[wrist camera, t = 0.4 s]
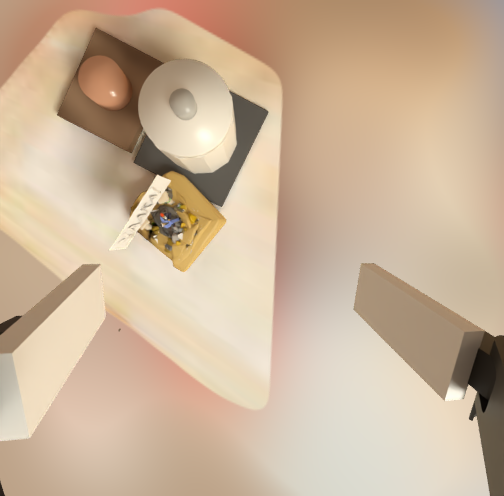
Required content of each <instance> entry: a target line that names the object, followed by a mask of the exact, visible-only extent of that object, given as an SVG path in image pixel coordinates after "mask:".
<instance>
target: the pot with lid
mask: <svg viewBox="0 0 504 496" xmlns="http://www.w3.org/2000/svg"><path fill="white" fill-rule="evenodd" d="M138 112H139V118H140V121H141V124H142V127H143V129H144V131H145V132H146V134H147V135H148V137H149V138H150V139H151V140H152V141H153V143H154V144H155V146H156V147H157V148H158V149H159V150H160V151H161V152H162V153H164V154H165V155H166V156H167V157H168V158H169V159H171V160H172V161H173V162H174V163H175V164H176V165H178V166H180V167H182V168H184V169H186V170H188V171H190V172H192V173H194V174H196V173H213V172H214V171H216V170H217V169H219V168H220V167H222V166H223V165H225V164H226V163H228V162H229V160H230V158H231V156H232V154H233V152H234V150H235V147H236V145H237V140H236V124H235V117H234V109H233V101H232V96H231V94H230V92H229V89H228V87H227V85H226V83H225V82H224V80H223V79H222V77H221V76H220V75H219V74H218V73H217V72H216V71H215V70H214V69H212V68H211V67H210V66H208V65H206V64H204V63H202V62H199V61H196V60H191V59H177V60H173V61H169V62H167V63H164V64H162V65H161V66H159V67H158V68H156V69H155V70H154V71H153V72H152V73H151V74H150V75H149V76H148V78H147V79H146V80H145V82H144V84H143V86H142V89H141V91H140V95H139V101H138Z"/></svg>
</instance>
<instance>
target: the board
mask: <svg viewBox="0 0 504 496" xmlns="http://www.w3.org/2000/svg"><path fill="white" fill-rule="evenodd" d="M97 55H101V56H106V57H109V58H111V59H112V60H113V61H115V62H116V63H117V65H118V66H119V67H120V68H121V70H122V71H123V72H124V73H125V75H126V76H127V77H128V78H129V80H130V82H131V85H132V97H131V100H130V102H129V103H128V104H127V106H125V107H124V108H123V109H121V110H118V111H108V110H105V109H103V108H101V107H100V106H99V105H97V104H96V103H95V102H94V101H93V100H91V99H90V98H89V97H88V96H86V95H85V94H84V92H83V91H82V90H81V88H80V85H79V82H78V73H79V69H80V67H81V65H82V64H83V63H84V62H85V61H86V60H87V59H88V58H90V57H92V56H97ZM162 64H164V63H162V62H160V61H158V60H157V59H155V58H153V57H151V56H149V55H147V54H145V53H143V52H141V51H139V50H137V49H136V48H134V47H132V46H130V45H128V44H126V43H124V42H122V41H120V40H118V39H116V38H114V37H113V36H111V35H109V34H107V33H105V32H103V31H101V30H99V29H97V28H96V29H95V31H94V33H93V36H92V38H91V40H90V42H89V44H88V47H87V49H86V51H85V53H84V56H83V58H82V60H81V62H80V65H79V67H78V69H77V71H76V74H75V76H74V78H73V80H72V83H71V85H70V87H69V89H68V91H67V94H66V96H65V98H64V100H63V103H62V105H61V107H60V109H59V112H58V114H57V115H58V116H60V117H61V118H63V119H65V120H67V121H69V122H71V123H73V124H75V125H77V126H79V127H81V128H83V129H85V130H87V131H89V132H91V133H93V134H95V135H97V136H99V137H101V138H102V139H104V140H106V141H108V142H110V143H112V144H114V145H116V146H118V147H120V148H122V149H124V150H126V151H128V152H130V153H132V151H133V149H134V147H135V145H136V142H137V140H138V138H139V136H140V134H141V132H142V130H143V127H142V124H141V121H140V118H139V112H138V101H139V95H140V91H141V89H142V86H143V84H144V82H145V80H146V79H147V78H148V76H149V75H150V74H151V73H152V72H153V71H154V70H155V69H156V68H158V67H159V66H161V65H162Z"/></svg>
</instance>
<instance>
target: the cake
mask: <svg viewBox="0 0 504 496" xmlns="http://www.w3.org/2000/svg"><path fill="white" fill-rule="evenodd" d="M225 223H226V219H225V218H224V217H223V216H222V214H221V213H220V212H219V211H218V210H217V209H216V208H215V207H214V206H213V205H212V204H211V203H210V202H209V201H208V200H207V199H206V198H205V197H204V196H203V195H202V194H201V193H200V192H199V191H198V189H197V188H196V187H195V186H194V185H193V184H192V183H191V182H190V181H189V180H188V179H187V178H186V177H185V176H184V175H181V174H179V173H176V172H174V171H170V172H168V173H166V174H164V175H163V176H159V175H157V176H156V178H155V179H154V181H153V183H152V184H151V186H150V187H149V189H148V190H147V191H146V192H142V193H141V194H140V195H139V196H138V198H137V199H136V200H135V202H134V204H133V206H132V207H131V213H130V219H129V221H128V222H127V224H126V225H125V227H124V228H123V230H122V231H121V233H120V235H119V236H118V238H117V239H116V241H115V242H114V244H113V245H112V247H111V248H110V249H109V251H110V250H117V249H125V248H127V247H128V245H129V243H130V242H131V240H132V239H133V237H134V236H135V234H136V232H137V231H138V232H139V233H140V234H141V235H142V236H143V237H144V238H145V239H146V240H147V241H149V242H150V243H152V244H153V245H154V246H155V247H156V248H157V249H159V250H160V251H161V252H162V253H163V254H165V255H166V256H167V257H168V258H170V259H171V260H172V261H173V266H174V267H175V268H177V269H178V270H180V271H182V272H185V271H186V270H187V269H188V268H189V267H190V266H191V264H192V263H193V262H194V261H195V260H196V258H197V257H198V256H199V255H200V253H201V252H202V251H203V250H204V249H205V247H206V246H207V245H208V244H209V242H210V241H211V240H212V239H213V238H214V236H215V235H216V234H217V233H218V231H219V230H220V229H221V228H222V227H223V225H224V224H225ZM119 331H120V329H119Z"/></svg>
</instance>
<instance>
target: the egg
mask: <svg viewBox="0 0 504 496" xmlns="http://www.w3.org/2000/svg"><path fill="white" fill-rule="evenodd" d="M78 82H79V85H80V88H81V90H82V91H83V92H84V94H85V95H86V96H88V97H89V98H90V99H91V100H93V101H94V102H95V103H96V104H97V105H99V106H100V107H101V108H103V109H105V110H108V111H118V110H121V109H123V108H124V107H125V106H127V104H128V103H129V102H130V100H131V97H132V85H131V82H130V80H129V78H128V77H127V76H126V75H125V73H124V72H123V71H122V70H121V68H120V67H119V66H118V65H117V63H116V62H115V61H113V60H112V59H111V58H109V57H106V56H101V55H97V56H92V57H90V58H88V59H87V60H86V61H85V62H84V63H83V64H82V65H81V67H80V69H79V73H78Z"/></svg>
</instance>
